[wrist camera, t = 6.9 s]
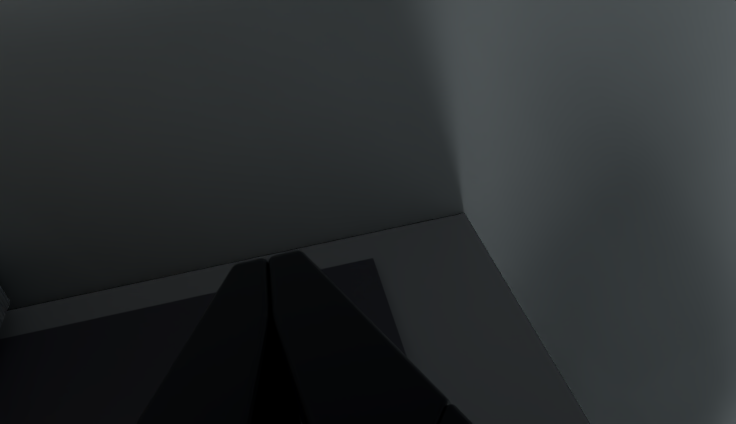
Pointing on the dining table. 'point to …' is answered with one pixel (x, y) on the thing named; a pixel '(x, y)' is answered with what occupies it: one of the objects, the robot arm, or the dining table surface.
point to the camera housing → (351, 275)
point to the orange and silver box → (3, 304)
